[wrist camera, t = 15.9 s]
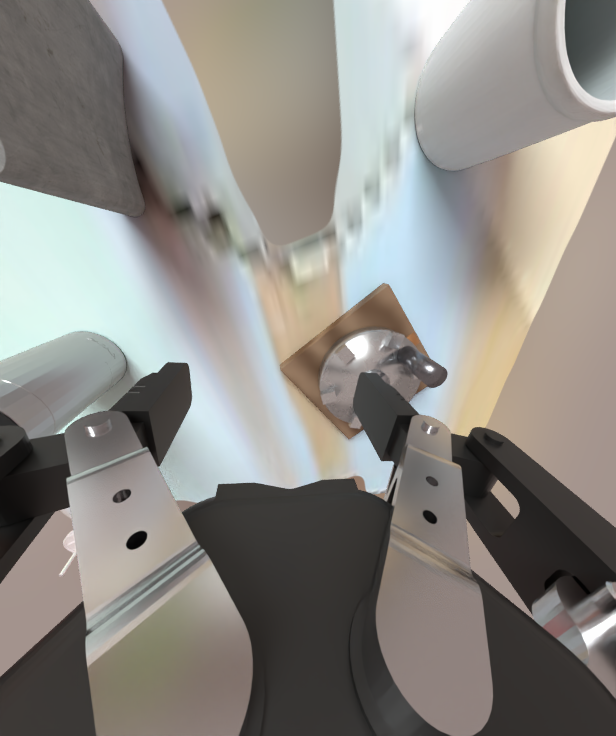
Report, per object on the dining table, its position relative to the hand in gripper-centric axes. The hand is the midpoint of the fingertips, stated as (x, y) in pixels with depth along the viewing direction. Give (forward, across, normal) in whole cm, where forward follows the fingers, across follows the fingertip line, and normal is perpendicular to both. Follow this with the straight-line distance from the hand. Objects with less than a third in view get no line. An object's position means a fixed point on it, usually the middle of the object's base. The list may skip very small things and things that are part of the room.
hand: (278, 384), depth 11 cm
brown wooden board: (+28, -18, +12) cm, 35 cm away
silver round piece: (+26, -18, +12) cm, 33 cm away
